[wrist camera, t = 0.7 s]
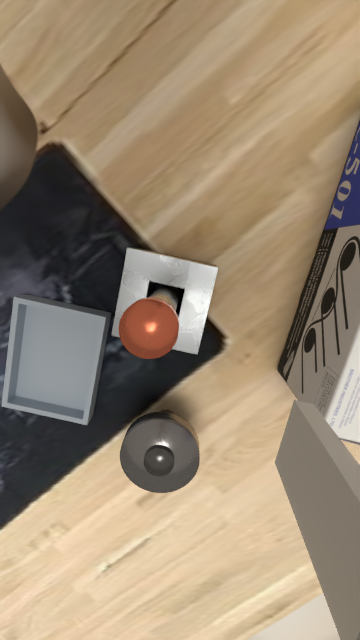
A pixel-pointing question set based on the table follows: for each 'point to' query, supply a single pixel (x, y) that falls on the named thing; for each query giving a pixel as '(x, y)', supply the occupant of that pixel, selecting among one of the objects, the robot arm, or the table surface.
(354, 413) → the ink box
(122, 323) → the pin
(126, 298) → the block
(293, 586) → the table surface
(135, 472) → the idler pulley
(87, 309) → the tray
